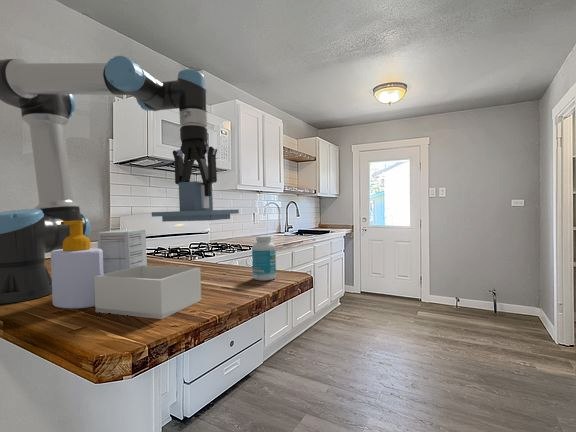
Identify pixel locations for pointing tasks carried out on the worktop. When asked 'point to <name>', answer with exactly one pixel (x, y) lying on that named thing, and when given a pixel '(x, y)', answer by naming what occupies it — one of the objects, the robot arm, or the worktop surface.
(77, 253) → the soap bottle
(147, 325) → the worktop surface
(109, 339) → the worktop surface
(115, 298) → the tub
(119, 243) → the supplement box
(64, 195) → the robot arm
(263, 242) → the pill bottle
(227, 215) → the lid
